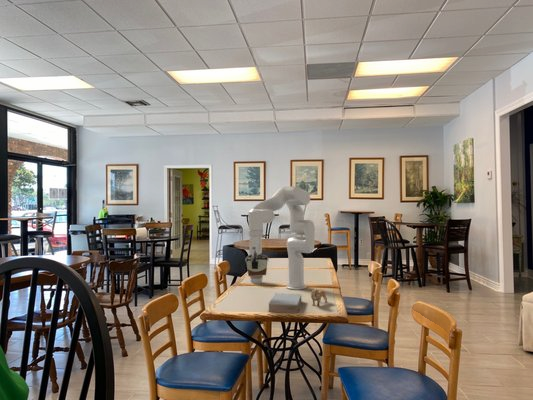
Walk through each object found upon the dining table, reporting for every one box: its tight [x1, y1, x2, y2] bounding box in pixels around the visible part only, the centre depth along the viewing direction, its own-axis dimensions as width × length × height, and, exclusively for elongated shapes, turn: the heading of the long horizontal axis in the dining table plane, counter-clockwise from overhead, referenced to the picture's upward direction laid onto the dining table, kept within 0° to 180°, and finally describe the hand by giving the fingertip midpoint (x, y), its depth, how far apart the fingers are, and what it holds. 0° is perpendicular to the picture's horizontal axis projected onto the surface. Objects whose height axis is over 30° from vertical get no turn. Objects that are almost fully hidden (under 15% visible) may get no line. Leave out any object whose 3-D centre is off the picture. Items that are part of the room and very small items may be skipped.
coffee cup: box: [249, 275, 264, 285], centre depth 232 cm, size 11×11×15 cm
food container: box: [244, 253, 269, 277], centre depth 182 cm, size 12×6×10 cm, turn 97°
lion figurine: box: [310, 288, 328, 307], centre depth 180 cm, size 15×5×9 cm, turn 151°
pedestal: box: [268, 292, 302, 314], centre depth 177 cm, size 20×14×4 cm
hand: (256, 267), depth 181 cm, fingers closed on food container, 6 cm apart
